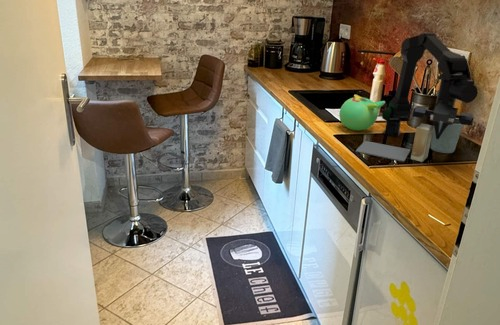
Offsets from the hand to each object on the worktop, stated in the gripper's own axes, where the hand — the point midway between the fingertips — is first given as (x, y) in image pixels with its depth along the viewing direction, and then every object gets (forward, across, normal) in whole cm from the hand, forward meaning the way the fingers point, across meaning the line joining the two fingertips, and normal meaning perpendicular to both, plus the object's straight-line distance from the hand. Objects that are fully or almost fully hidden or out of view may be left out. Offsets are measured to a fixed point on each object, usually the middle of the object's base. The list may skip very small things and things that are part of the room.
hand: (437, 138), depth 142 cm
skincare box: (+9, -5, 0) cm, 10 cm away
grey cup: (+9, +2, +15) cm, 17 cm away
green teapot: (+9, -33, +21) cm, 40 cm away
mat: (+8, -17, 0) cm, 19 cm away
